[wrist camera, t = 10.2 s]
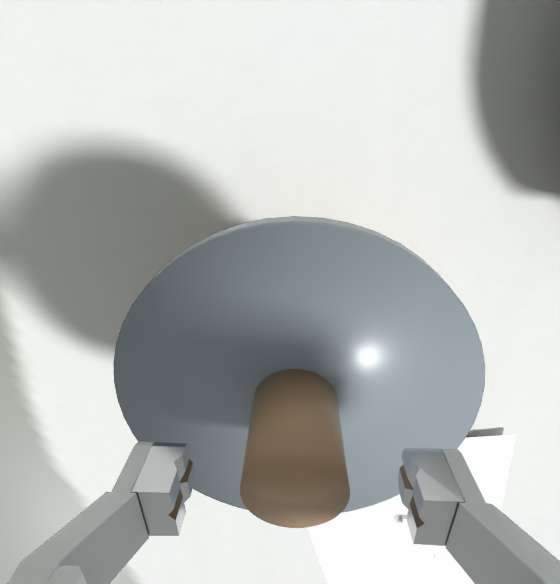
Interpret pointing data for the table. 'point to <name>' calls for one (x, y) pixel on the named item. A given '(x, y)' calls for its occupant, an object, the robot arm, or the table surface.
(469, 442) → the paper sheet
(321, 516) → the lid
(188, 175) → the table surface
